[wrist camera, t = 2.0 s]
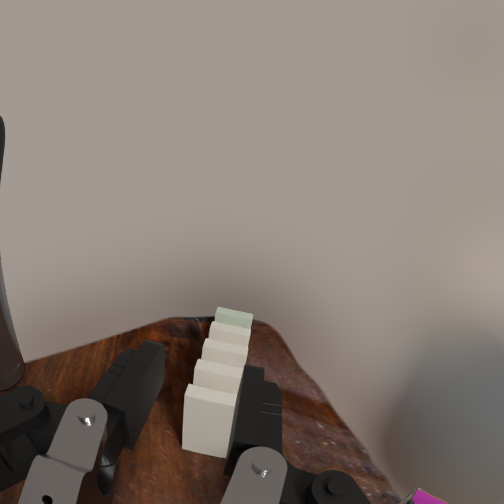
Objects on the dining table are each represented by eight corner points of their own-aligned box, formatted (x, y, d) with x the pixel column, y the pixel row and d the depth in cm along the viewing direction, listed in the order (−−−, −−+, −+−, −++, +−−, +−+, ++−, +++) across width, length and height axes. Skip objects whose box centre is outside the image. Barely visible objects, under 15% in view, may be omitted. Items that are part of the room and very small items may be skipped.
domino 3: (196, 402, 33) (203, 345, 30) (198, 394, 34) (205, 338, 31) (233, 410, 33) (247, 355, 30) (235, 402, 34) (248, 347, 31)
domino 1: (207, 366, 40) (215, 312, 38) (209, 360, 42) (218, 306, 39) (239, 373, 40) (252, 319, 37) (240, 366, 42) (253, 314, 39)
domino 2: (202, 383, 37) (210, 327, 34) (204, 376, 38) (212, 321, 35) (236, 390, 37) (250, 335, 34) (238, 383, 38) (250, 329, 35)
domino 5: (182, 448, 25) (184, 395, 22) (185, 438, 27) (188, 383, 24) (225, 458, 25) (239, 407, 22) (227, 447, 27) (241, 395, 24)
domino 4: (189, 424, 29) (194, 368, 26) (192, 415, 30) (198, 358, 28) (229, 433, 29) (243, 378, 26) (231, 423, 30) (245, 368, 28)
